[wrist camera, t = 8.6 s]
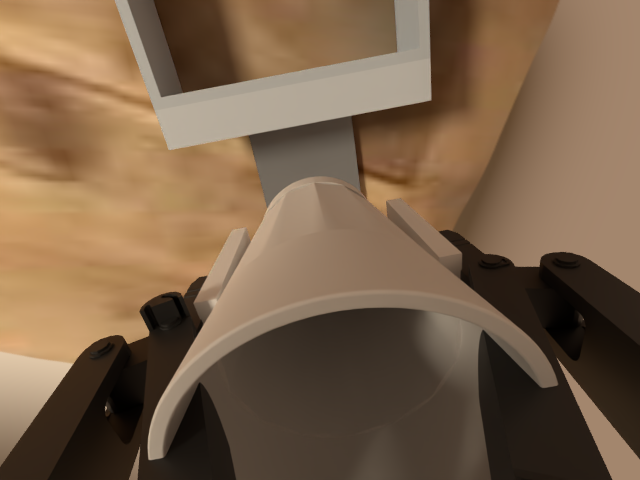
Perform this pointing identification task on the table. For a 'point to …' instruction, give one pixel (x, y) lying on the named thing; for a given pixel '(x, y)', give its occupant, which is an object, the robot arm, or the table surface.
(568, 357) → the robot arm
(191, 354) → the cup
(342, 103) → the rectangular frame
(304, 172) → the pad
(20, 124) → the table surface
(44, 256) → the table surface
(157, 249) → the table surface
